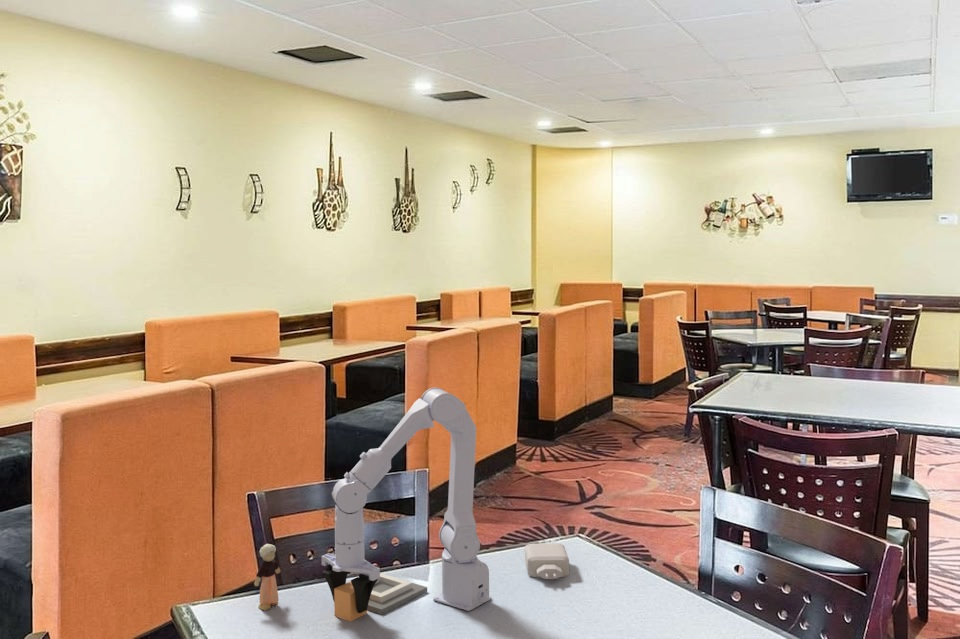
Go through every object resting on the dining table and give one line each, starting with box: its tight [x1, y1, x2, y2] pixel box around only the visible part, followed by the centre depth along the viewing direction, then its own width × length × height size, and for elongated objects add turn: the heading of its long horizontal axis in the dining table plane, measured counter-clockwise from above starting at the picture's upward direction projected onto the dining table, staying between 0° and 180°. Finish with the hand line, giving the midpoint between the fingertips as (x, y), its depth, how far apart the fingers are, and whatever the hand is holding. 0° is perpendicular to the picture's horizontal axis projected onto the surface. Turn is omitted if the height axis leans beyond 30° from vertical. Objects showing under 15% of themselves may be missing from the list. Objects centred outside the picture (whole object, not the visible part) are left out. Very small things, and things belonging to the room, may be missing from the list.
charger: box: [524, 542, 570, 580], centre depth 180 cm, size 5×9×15 cm
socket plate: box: [367, 572, 428, 615], centre depth 169 cm, size 14×14×2 cm
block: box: [333, 581, 368, 622], centre depth 159 cm, size 4×4×6 cm
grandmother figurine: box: [253, 543, 281, 611], centre depth 164 cm, size 8×4×13 cm, turn 168°
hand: (350, 607), depth 159 cm, fingers open, 6 cm apart
